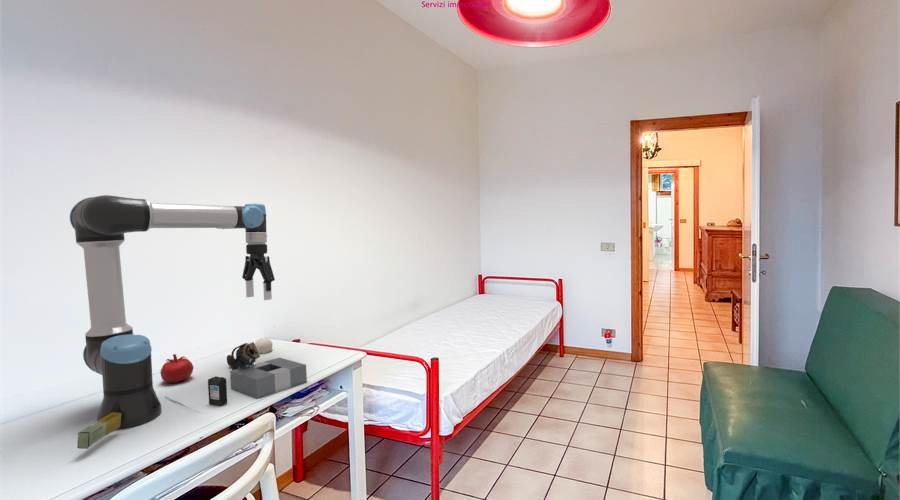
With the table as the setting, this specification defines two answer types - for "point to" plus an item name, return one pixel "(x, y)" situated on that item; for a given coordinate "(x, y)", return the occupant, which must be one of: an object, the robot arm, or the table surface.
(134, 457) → the table surface
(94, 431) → the medication box
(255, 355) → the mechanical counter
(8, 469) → the table surface
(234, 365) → the power plug
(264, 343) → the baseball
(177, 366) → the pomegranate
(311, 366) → the table surface
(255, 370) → the grey block with hole
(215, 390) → the ink cartridge
